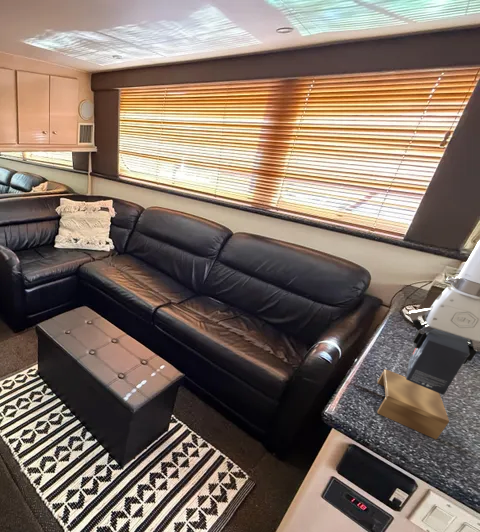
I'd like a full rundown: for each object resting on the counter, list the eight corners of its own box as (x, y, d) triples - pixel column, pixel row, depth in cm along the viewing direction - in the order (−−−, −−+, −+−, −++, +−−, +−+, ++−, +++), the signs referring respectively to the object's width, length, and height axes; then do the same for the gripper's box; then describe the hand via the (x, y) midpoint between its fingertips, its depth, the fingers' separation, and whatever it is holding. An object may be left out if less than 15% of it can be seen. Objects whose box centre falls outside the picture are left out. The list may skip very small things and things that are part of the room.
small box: (407, 359, 87) (429, 322, 83) (442, 373, 83) (467, 334, 79) (404, 379, 79) (428, 339, 74) (443, 396, 74) (472, 354, 70)
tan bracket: (427, 406, 87) (438, 389, 85) (436, 439, 76) (449, 421, 74) (375, 385, 94) (384, 368, 91) (377, 413, 83) (387, 395, 81)
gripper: (427, 280, 74) (392, 343, 81) (546, 309, 64) (496, 378, 71) (422, 272, 80) (390, 332, 86) (532, 298, 69) (486, 363, 76)
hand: (438, 352), depth 78 cm, fingers closed on small box, 7 cm apart
